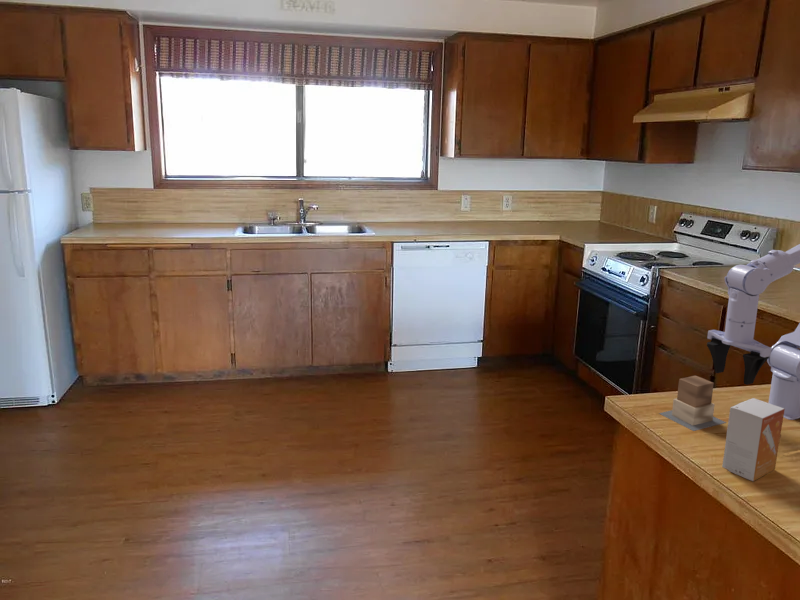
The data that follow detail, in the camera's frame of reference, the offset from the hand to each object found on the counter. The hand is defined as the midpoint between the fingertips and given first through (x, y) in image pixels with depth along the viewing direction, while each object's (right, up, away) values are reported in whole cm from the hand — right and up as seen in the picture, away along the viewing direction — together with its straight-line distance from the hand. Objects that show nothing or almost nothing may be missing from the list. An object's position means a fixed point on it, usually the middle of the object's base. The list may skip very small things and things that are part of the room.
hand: (733, 377), depth 143 cm
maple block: (-8, -9, +2) cm, 13 cm away
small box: (-7, -16, -20) cm, 26 cm away
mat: (-8, -10, +2) cm, 13 cm away
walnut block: (-8, -6, +1) cm, 10 cm away
